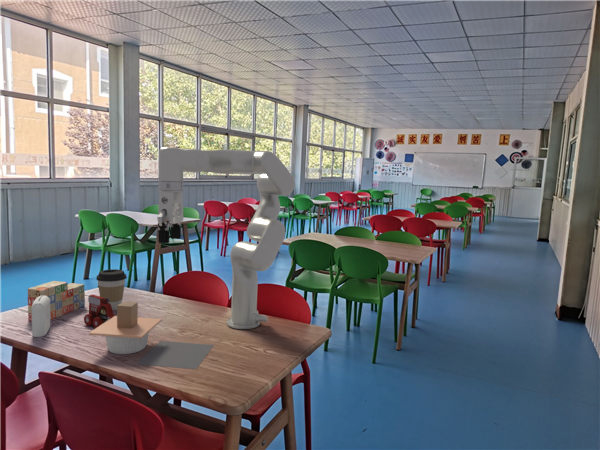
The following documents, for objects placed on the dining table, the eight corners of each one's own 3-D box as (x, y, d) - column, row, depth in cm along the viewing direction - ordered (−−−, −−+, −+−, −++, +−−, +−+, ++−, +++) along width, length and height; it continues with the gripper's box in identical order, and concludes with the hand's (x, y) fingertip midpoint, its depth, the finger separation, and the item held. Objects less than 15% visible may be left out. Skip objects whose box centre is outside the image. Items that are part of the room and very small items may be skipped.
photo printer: (37, 327, 149) (36, 293, 147) (51, 326, 150) (51, 292, 149) (30, 338, 139) (29, 301, 138) (45, 337, 141) (44, 300, 139)
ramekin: (122, 361, 126) (122, 338, 126) (95, 349, 133) (95, 328, 132) (158, 347, 138) (158, 326, 137) (131, 337, 144) (131, 317, 144)
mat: (213, 346, 140) (213, 345, 140) (196, 370, 122) (196, 369, 122) (160, 341, 142) (160, 340, 141) (135, 365, 124) (135, 364, 124)
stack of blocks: (72, 304, 176) (71, 275, 174) (85, 306, 174) (85, 277, 173) (27, 321, 155) (27, 287, 154) (42, 323, 153) (41, 289, 152)
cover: (161, 320, 142) (162, 298, 141) (141, 338, 126) (141, 313, 125) (115, 317, 143) (115, 295, 142) (88, 334, 127) (88, 310, 126)
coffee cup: (120, 302, 182) (120, 267, 180) (131, 309, 173) (131, 272, 172) (92, 306, 174) (92, 270, 172) (101, 314, 166) (101, 276, 164)
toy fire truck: (102, 331, 148) (102, 302, 147) (80, 323, 154) (80, 295, 153) (120, 326, 154) (120, 298, 153) (98, 318, 160) (98, 292, 159)
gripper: (172, 188, 126) (171, 245, 128) (191, 187, 143) (190, 237, 145) (147, 187, 126) (146, 244, 128) (169, 186, 144) (168, 236, 145)
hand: (169, 240), depth 137 cm, fingers open, 9 cm apart
